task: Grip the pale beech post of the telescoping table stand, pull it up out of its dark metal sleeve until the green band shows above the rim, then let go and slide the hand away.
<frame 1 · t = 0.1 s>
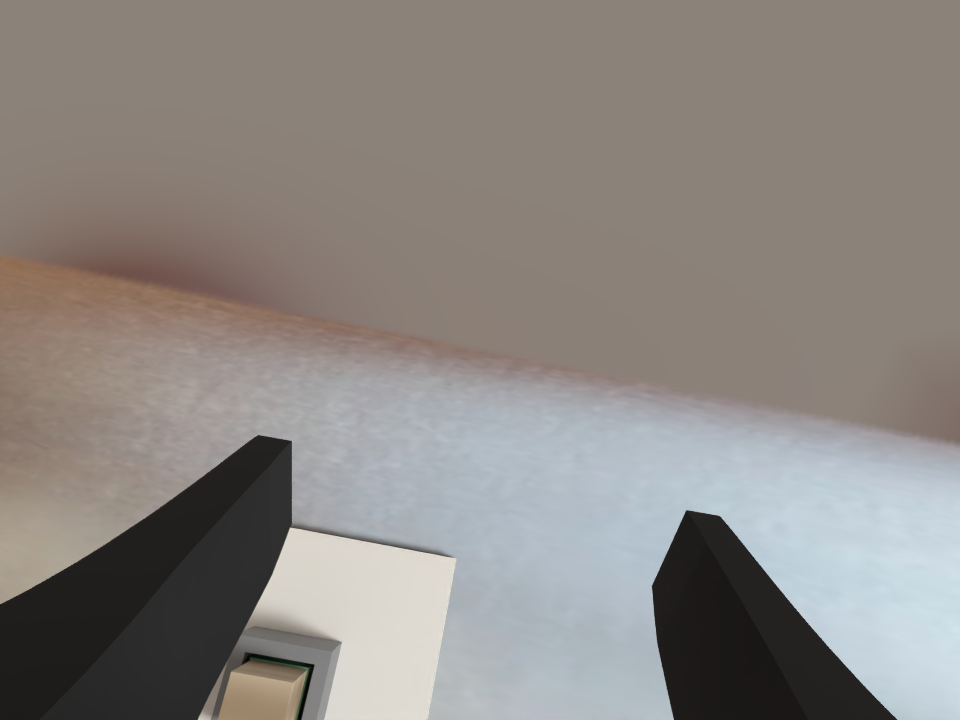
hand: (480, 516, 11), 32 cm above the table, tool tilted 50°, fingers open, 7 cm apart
stand base: (290, 679, 38), on the table
post: (271, 696, 33), point 5 cm above the table, slide at 0.0 cm
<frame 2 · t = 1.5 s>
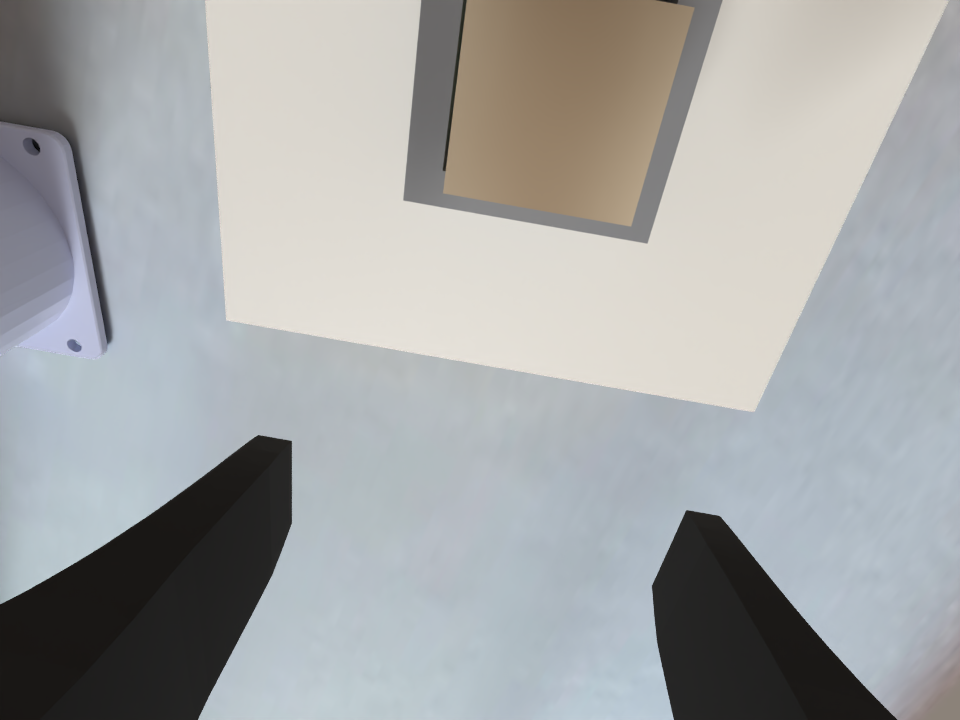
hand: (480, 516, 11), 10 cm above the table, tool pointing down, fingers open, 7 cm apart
stand base: (546, 70, 17), on the table
post: (551, 86, 12), point 5 cm above the table, slide at 0.0 cm
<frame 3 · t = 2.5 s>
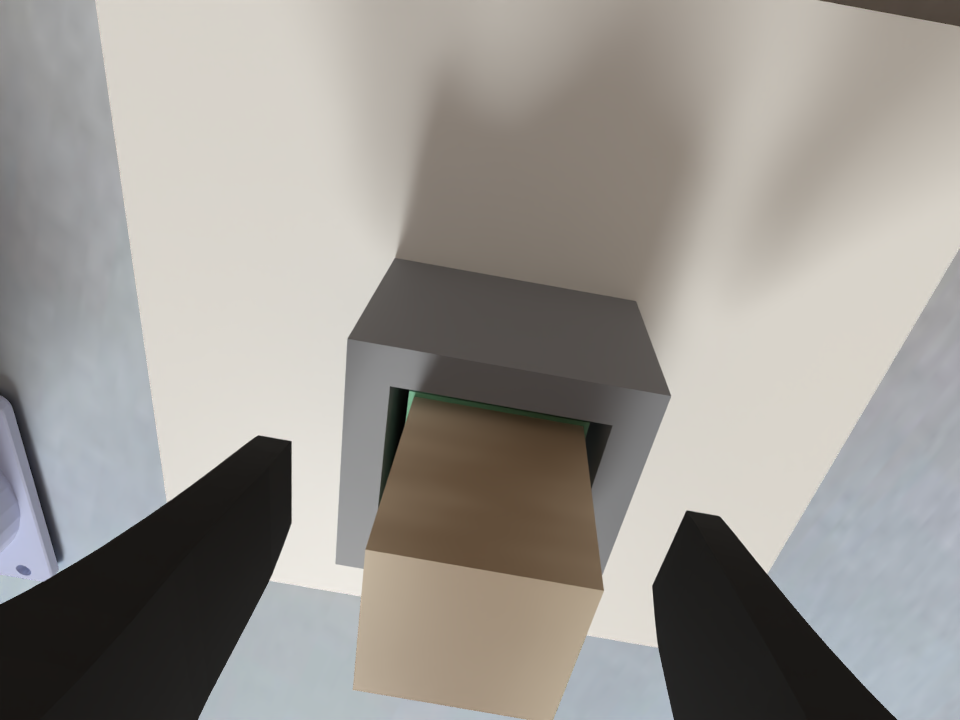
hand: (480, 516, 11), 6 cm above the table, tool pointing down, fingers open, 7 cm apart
stand base: (497, 358, 16), on the table
post: (484, 479, 12), point 5 cm above the table, slide at 0.0 cm
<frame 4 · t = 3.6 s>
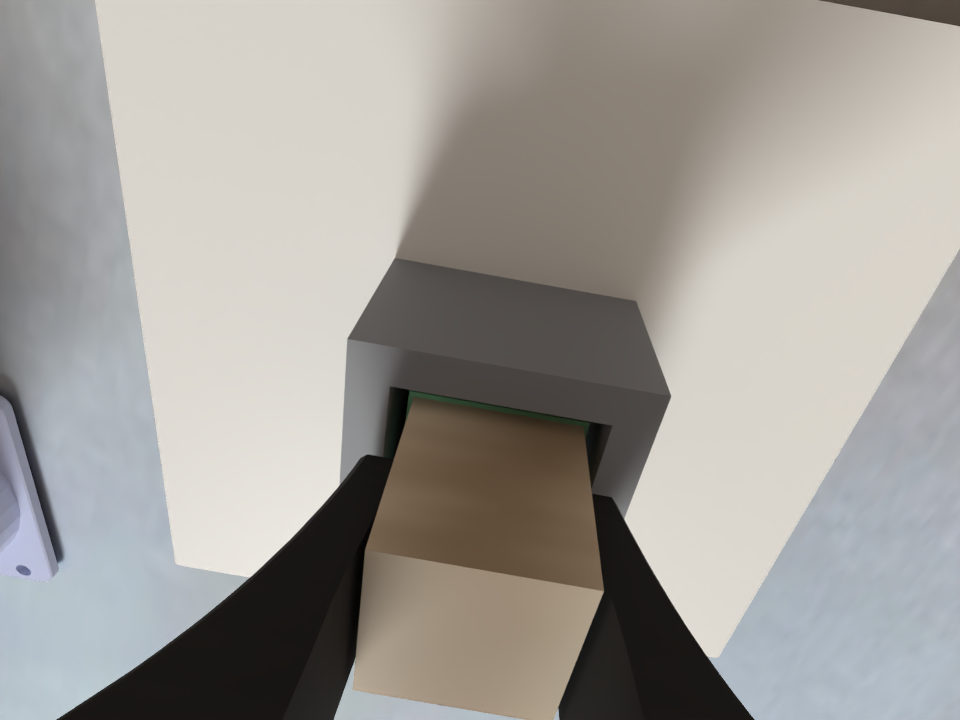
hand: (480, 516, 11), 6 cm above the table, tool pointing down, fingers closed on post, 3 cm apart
stand base: (497, 358, 16), on the table
post: (484, 479, 12), point 5 cm above the table, slide at 0.0 cm, touching gripper
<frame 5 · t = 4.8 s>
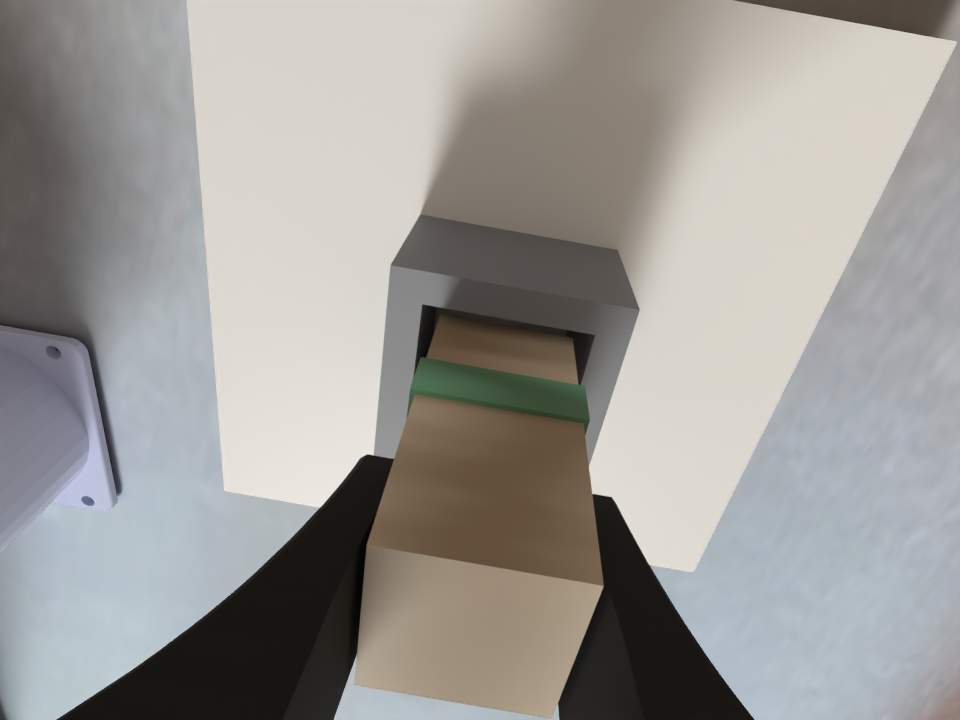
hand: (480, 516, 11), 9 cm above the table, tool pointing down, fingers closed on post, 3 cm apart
stand base: (503, 304, 19), on the table
post: (485, 476, 12), point 8 cm above the table, slide at 3.4 cm, touching gripper
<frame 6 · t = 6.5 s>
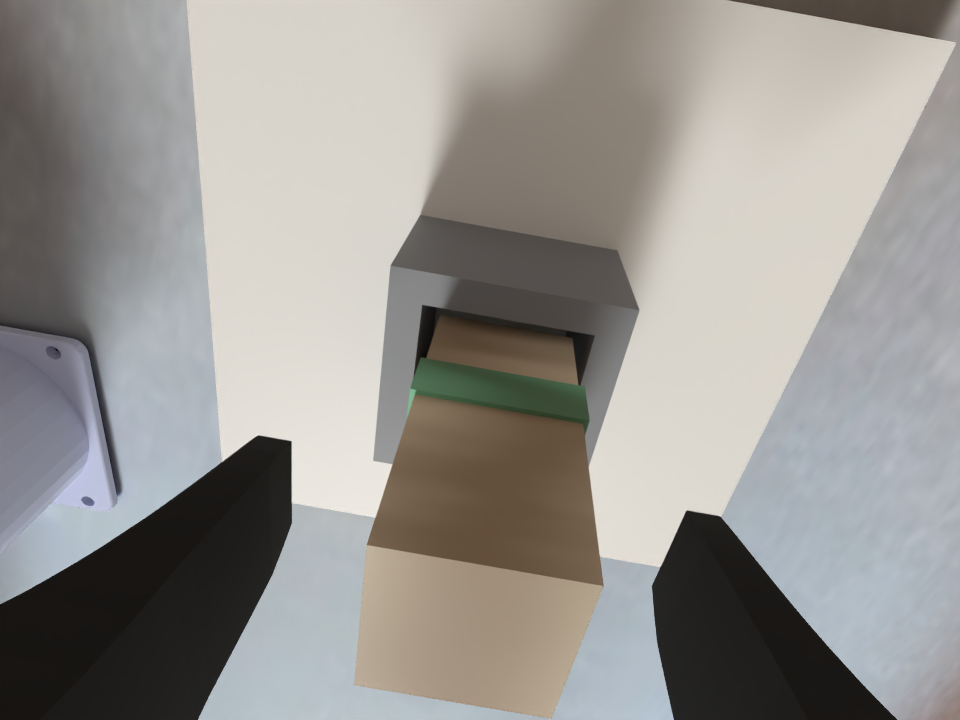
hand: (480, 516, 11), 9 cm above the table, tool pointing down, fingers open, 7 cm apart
stand base: (503, 305, 19), on the table
post: (484, 477, 12), point 8 cm above the table, slide at 3.4 cm
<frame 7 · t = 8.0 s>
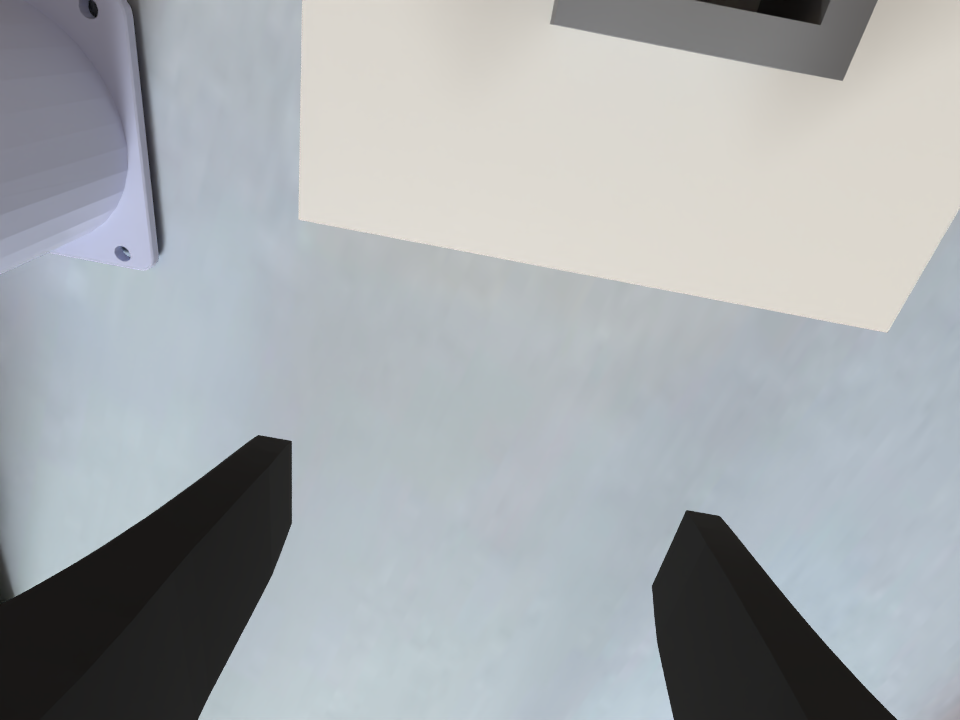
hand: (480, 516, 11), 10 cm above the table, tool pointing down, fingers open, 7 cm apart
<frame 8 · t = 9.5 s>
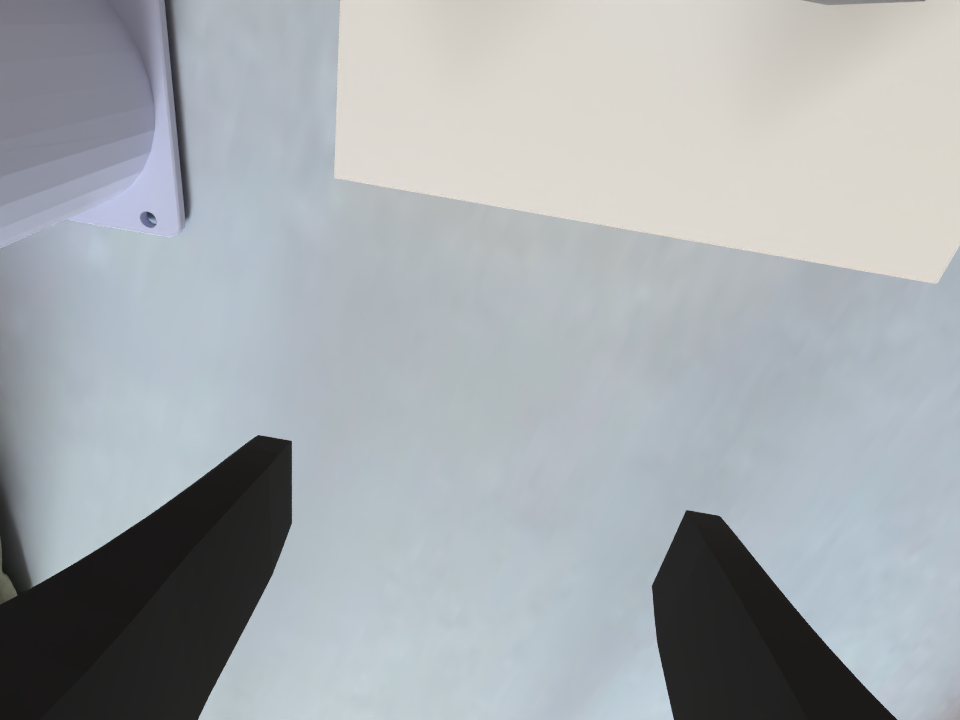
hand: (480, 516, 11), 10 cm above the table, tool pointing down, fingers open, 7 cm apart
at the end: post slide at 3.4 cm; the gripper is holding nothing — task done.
